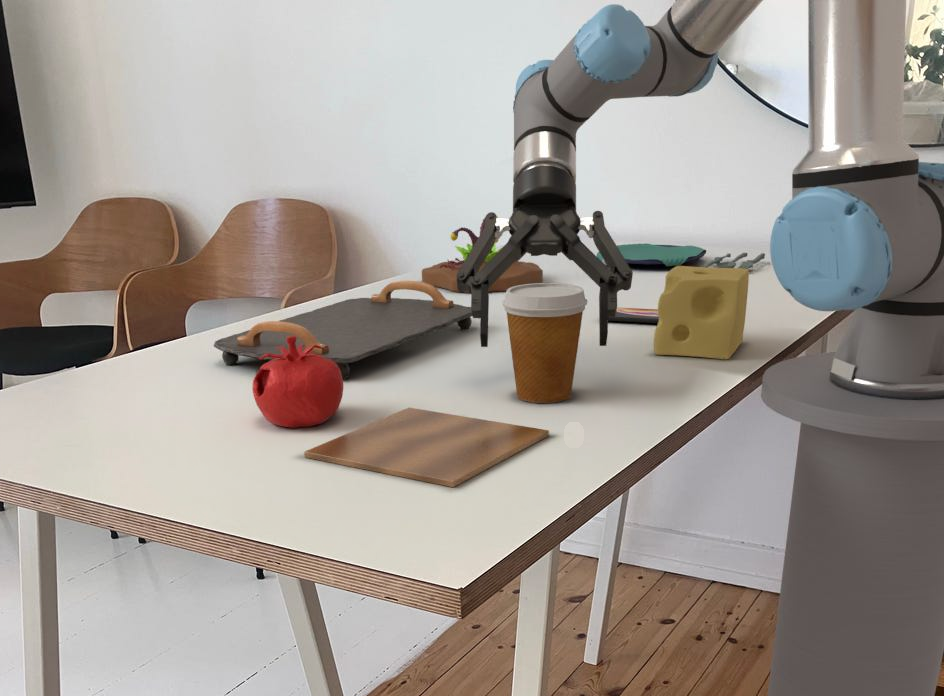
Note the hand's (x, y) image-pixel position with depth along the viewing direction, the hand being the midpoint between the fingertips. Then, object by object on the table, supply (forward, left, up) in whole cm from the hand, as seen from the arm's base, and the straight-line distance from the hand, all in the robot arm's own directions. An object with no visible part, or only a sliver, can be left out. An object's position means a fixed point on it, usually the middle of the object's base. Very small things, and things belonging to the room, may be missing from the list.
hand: (543, 340), depth 125 cm
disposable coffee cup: (0, 0, -7) cm, 7 cm away
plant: (+46, -60, -7) cm, 76 cm away
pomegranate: (+19, +21, -7) cm, 29 cm away
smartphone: (+6, -44, -6) cm, 45 cm away
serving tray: (+36, -10, -7) cm, 38 cm away
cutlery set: (+23, -91, -7) cm, 94 cm away
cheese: (-7, -30, -7) cm, 32 cm away
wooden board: (+1, +22, -6) cm, 23 cm away
